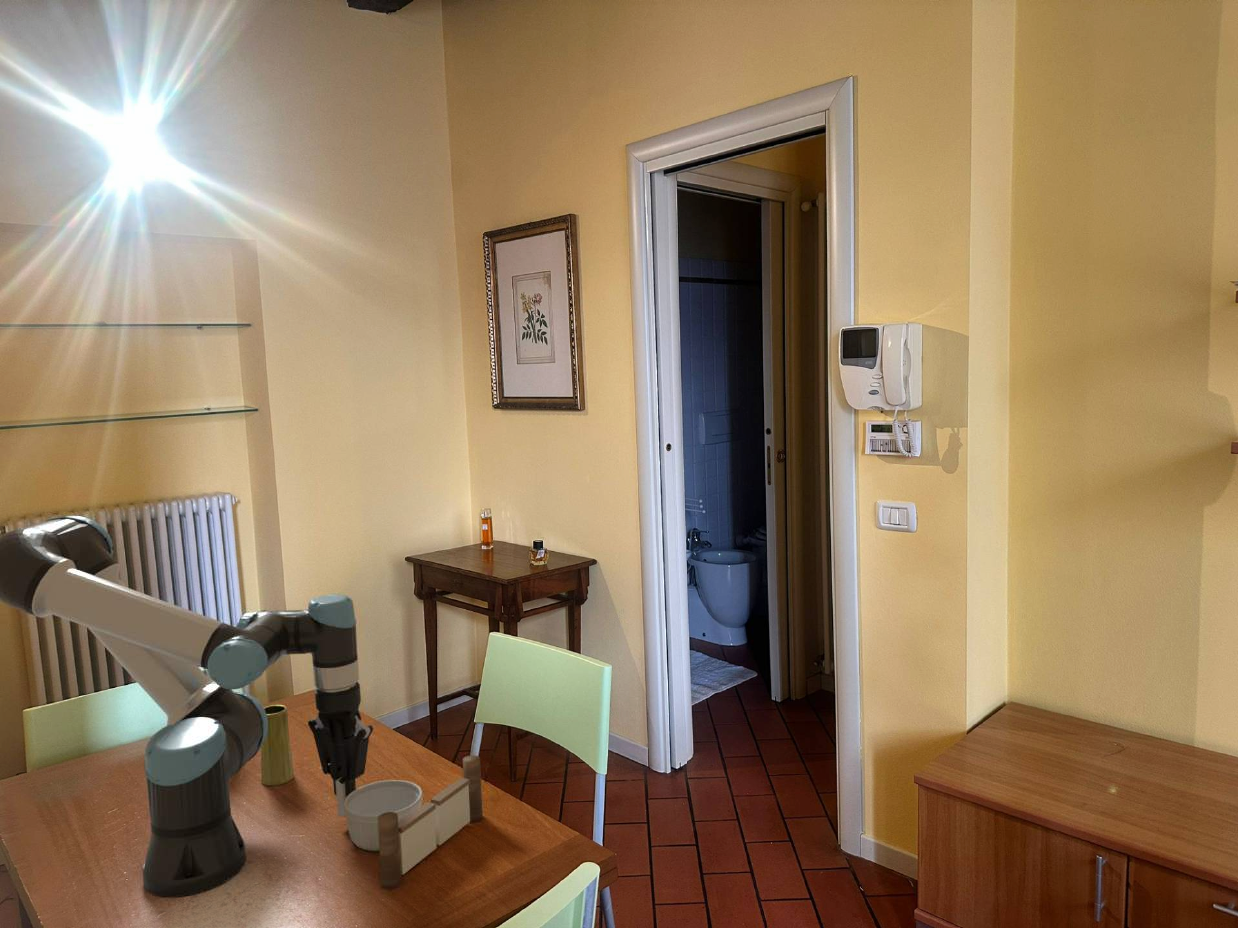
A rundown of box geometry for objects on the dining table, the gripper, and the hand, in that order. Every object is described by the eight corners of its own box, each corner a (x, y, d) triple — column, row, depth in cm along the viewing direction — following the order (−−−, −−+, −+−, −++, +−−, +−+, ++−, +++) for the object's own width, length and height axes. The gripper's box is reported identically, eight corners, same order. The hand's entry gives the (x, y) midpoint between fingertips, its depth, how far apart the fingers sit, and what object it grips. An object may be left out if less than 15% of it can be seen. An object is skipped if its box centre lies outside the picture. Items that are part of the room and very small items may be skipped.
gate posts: (392, 890, 138) (388, 823, 136) (377, 886, 139) (373, 819, 138) (486, 815, 160) (483, 756, 159) (472, 812, 161) (469, 754, 160)
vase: (287, 785, 173) (281, 715, 172) (255, 786, 174) (250, 715, 172) (298, 771, 179) (294, 703, 178) (268, 771, 180) (263, 703, 178)
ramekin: (343, 824, 158) (340, 787, 157) (418, 809, 163) (416, 773, 162) (348, 862, 146) (346, 822, 145) (430, 845, 150) (428, 806, 150)
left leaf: (404, 874, 141) (401, 828, 140) (395, 872, 142) (392, 825, 141) (437, 848, 149) (435, 803, 148) (429, 845, 149) (426, 801, 148)
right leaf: (441, 845, 149) (439, 801, 149) (433, 842, 150) (430, 798, 149) (471, 821, 157) (469, 779, 156) (463, 819, 158) (461, 777, 157)
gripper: (380, 681, 156) (389, 809, 159) (324, 672, 161) (333, 796, 164) (350, 697, 149) (360, 830, 152) (293, 687, 155) (303, 815, 158)
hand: (346, 812), depth 158 cm, fingers closed
